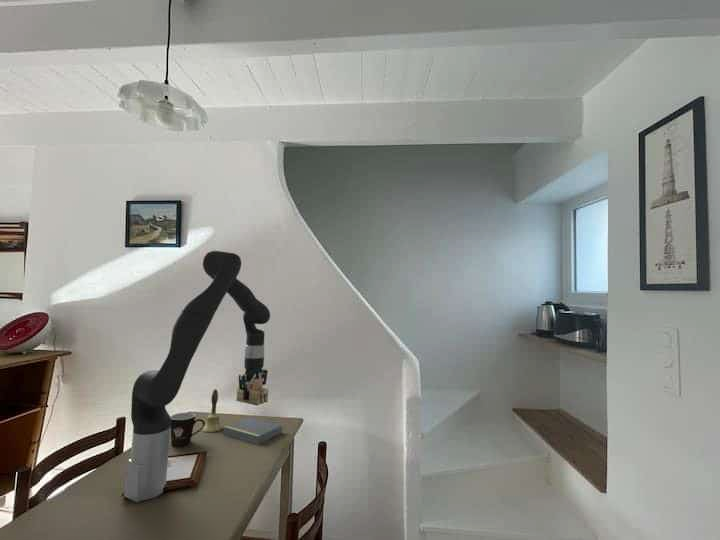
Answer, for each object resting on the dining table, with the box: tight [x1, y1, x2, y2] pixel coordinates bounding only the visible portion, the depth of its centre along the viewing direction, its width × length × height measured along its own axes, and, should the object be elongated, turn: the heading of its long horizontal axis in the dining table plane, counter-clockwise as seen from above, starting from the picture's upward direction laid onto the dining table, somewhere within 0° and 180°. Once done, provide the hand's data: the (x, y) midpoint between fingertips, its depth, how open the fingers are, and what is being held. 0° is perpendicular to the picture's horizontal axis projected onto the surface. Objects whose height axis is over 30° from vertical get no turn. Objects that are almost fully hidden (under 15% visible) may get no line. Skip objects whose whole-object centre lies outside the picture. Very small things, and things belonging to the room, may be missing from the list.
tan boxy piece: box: [236, 387, 269, 406], centre depth 142 cm, size 6×11×5 cm, turn 62°
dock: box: [223, 417, 283, 446], centre depth 143 cm, size 14×18×3 cm
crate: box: [246, 378, 261, 390], centre depth 142 cm, size 4×4×4 cm
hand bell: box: [201, 389, 224, 433], centre depth 148 cm, size 8×8×16 cm
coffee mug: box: [170, 411, 206, 448], centre depth 132 cm, size 12×9×10 cm
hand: (252, 398), depth 141 cm, fingers closed on tan boxy piece, 6 cm apart
